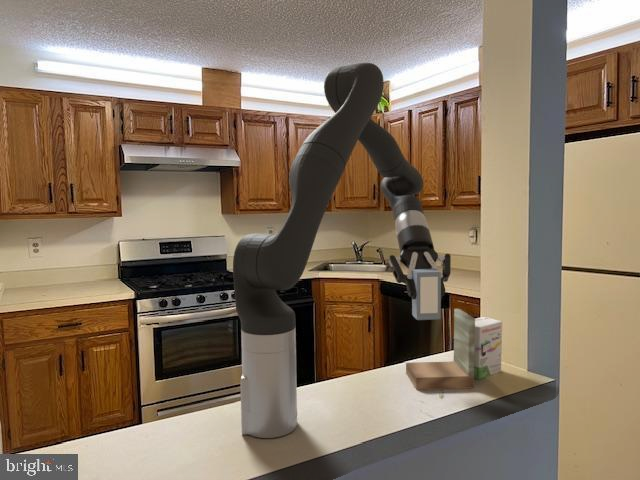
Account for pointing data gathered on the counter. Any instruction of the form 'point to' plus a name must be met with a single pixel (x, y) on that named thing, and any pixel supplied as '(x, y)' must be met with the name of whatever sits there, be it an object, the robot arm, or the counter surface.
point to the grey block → (427, 294)
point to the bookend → (449, 372)
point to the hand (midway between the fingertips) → (427, 296)
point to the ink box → (487, 347)
